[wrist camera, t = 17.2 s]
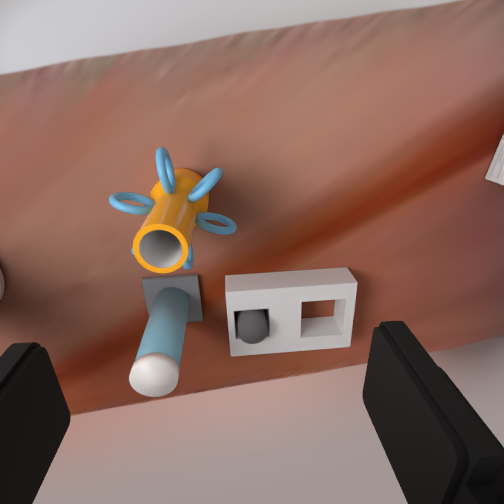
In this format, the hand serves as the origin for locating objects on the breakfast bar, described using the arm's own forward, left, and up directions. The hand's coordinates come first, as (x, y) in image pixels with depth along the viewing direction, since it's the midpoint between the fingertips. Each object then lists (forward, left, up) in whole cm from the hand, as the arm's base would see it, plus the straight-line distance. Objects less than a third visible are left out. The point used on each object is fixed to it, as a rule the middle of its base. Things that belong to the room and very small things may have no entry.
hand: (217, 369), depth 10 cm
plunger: (+2, -19, -30) cm, 36 cm away
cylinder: (-5, -3, -31) cm, 31 cm away
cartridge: (-8, -17, -30) cm, 35 cm away
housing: (+7, -19, -30) cm, 37 cm away
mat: (-8, -17, -30) cm, 36 cm away
